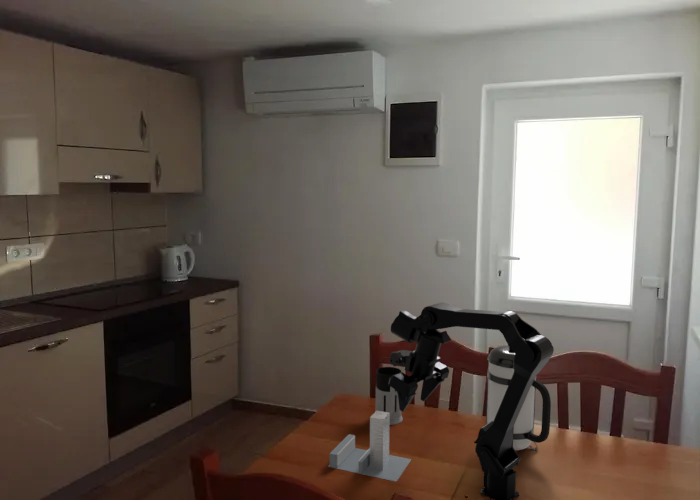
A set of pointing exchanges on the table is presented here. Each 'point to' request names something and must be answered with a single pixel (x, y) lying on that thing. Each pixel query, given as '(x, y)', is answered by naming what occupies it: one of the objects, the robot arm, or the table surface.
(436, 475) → the table surface
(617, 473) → the table surface
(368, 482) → the table surface
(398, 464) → the vise
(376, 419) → the aluminium bar
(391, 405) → the glass holder
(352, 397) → the table surface
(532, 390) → the coffee press
